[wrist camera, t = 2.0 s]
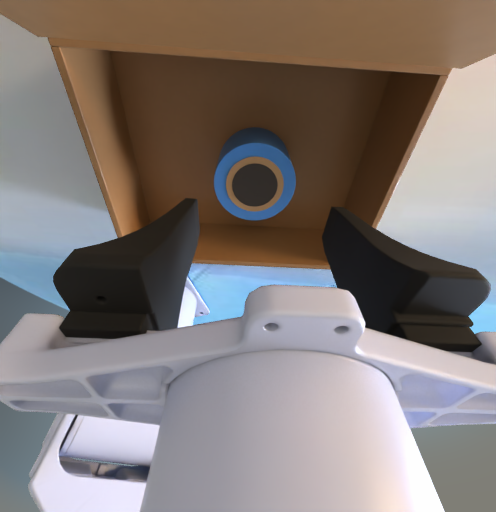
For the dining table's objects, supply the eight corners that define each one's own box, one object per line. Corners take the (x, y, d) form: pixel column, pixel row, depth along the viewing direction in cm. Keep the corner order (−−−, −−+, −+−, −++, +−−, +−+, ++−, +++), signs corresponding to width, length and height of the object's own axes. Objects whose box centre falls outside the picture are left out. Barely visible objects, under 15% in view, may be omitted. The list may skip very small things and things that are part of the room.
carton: (147, 221, 23) (125, 260, 19) (103, 36, 15) (45, 33, 10) (337, 231, 23) (356, 270, 19) (398, 59, 15) (454, 64, 11)
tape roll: (232, 204, 21) (229, 228, 18) (207, 140, 18) (200, 158, 15) (294, 187, 20) (302, 210, 17) (281, 116, 17) (287, 130, 14)
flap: (-252, -141, 4) (-265, -168, 4) (37, 36, 10) (36, 27, 10) (729, -48, 5) (740, -69, 5) (461, 68, 11) (464, 60, 11)
